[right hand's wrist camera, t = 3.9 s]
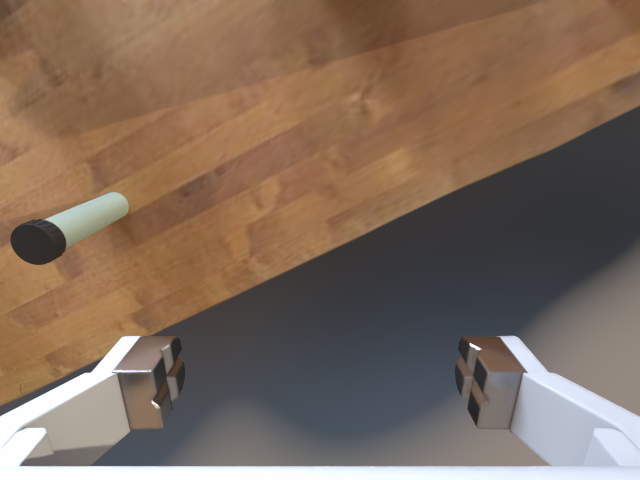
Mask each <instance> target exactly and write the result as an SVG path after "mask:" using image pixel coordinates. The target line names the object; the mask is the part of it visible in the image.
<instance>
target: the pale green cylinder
mask: <svg viewBox="0 0 640 480" xmlns="http://www.w3.org/2000/svg"><path fill="white" fill-rule="evenodd" d="M128 211H129V204H128V201H127V200H126V198H125V197H124V196H123V195H121V194H119V193H116V192H110V193H108V194H105V195H103V196H100V197H98V198H95V199H93V200H90V201H88V202H86V203H83V204H81V205H78V206H76V207H73V208H71V209H68V210H66V211H64V212H61V213H59V214H56V215H54V216H51V217H49V218H46V219H44V220H46V221H49V222H52V223H54V224H55V225H56V226H58V227H59V228H60V230H61V231H62V232H63V234H64V236H65V238H66V249H67V248H68V247H70V246H72V245H74V244H76V243H77V242H79V241H81V240H83V239H84V238H86V237H88V236H90V235H92V234H93V233H95V232H97V231H99V230H101V229H102V228H104V227H106V226H108V225H109V224H111V223H113V222H115V221H117V220H118V219H120V218H122V217H124V216H125V215H126V214H127V213H128Z"/></svg>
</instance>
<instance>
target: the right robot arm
mask: <svg viewBox="0 0 640 480" xmlns="http://www.w3.org/2000/svg"><path fill="white" fill-rule="evenodd" d="M181 350H182V348H181V343H180V339H179V338H177V337H160V336H143V337H142V336H125V337H122V338H121V339H120V340H119V341H118V342H117V344H116V345H115V346H114V347H113V348H112V349H111V350H110V352H109V353H108V354H107V355H106V356H105V357H104V359H103V360H102V361H101V362H100V363H99V364H98V365H97V367H96V368H95V369H94V370H93V371H92V372H91V373H84V374H82V375H80V376H78V377H77V378H75V379H73V380H71V381H69V382H67V383H65V384H63V385H61V386H59V387H57V388H55V389H53V390H51V391H49V392H47V393H45V394H43V395H41V396H39V397H37V398H35V399H34V400H32V401H30V402H28V403H26V404H24V405H22V406H20V407H18V408H16V409H14V410H12V411H10V412H8V413H6V414H4V415H2V416H0V480H640V417H639V416H638V415H636V414H634V413H632V412H630V411H628V410H626V409H624V408H622V407H620V406H618V405H616V404H614V403H612V402H610V401H608V400H606V399H604V398H602V397H600V396H599V395H597V394H595V393H593V392H591V391H589V390H587V389H585V388H583V387H581V386H579V385H577V384H575V383H573V382H571V381H569V380H567V379H565V378H563V377H561V376H560V375H558V374H556V373H549V372H548V371H547V370H546V369H545V368H544V367H543V366H542V364H541V363H540V362H539V361H538V360H537V359H536V357H535V356H534V355H533V354H532V353H531V352H530V351H529V349H528V348H527V347H526V346H525V345H524V344H523V342H522V341H521V340H520V339H519V338H518V337H516V336H497V337H462V338H461V340H460V342H459V348H458V350H459V352H460V353H461V355H462V357H461V358H460V359H459V360H458V361H457V362H456V369H455V376H456V384H457V387H458V390H459V392H460V394H461V396H462V397H463V398H464V399H466V400H467V401H469V403H468V411H469V413H470V415H471V417H472V419H473V421H474V423H475V425H476V427H477V428H478V429H509V430H510V432H511V433H513V434H514V435H515V436H516V437H517V438H518V439H520V440H521V441H522V442H523V443H524V444H525V445H527V446H528V447H529V448H530V449H531V450H532V451H534V452H535V453H536V454H537V455H538V456H540V457H541V458H542V459H543V460H544V461H545V462H547V463H548V464H549V465H550V466H90V465H91V464H92V463H94V462H95V461H96V460H97V459H98V458H99V457H101V456H102V455H103V454H104V453H105V452H106V451H108V450H109V449H110V448H111V447H112V446H114V445H115V444H116V443H117V442H118V441H119V440H121V439H122V438H123V437H124V436H125V435H126V434H128V433H129V432H130V430H131V429H163V427H164V425H165V423H166V421H167V419H168V417H169V415H170V413H171V411H172V403H171V401H173V400H174V399H176V398H177V397H178V396H179V394H180V392H181V390H182V388H183V383H184V378H185V368H184V362H183V361H182V360H181V359H180V358H179V357H178V355H179V353H180V352H181Z"/></svg>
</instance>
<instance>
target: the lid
mask: <svg viewBox="0 0 640 480" xmlns="http://www.w3.org/2000/svg"><path fill="white" fill-rule="evenodd" d="M11 245H12V248H13V250H14V251H15V253H16V254H17V255H18V256H19V257H20V258H21V259H23V260H24V261H26V262H28V263H31V264H35V265H42V264H46V263H48V262H51V261H53V260H55V259H56V258H58V257H60V256H61V255H62V254H63V252H64V251H65V249H66V238H65V236H64V234H63V232H62V231H61V230H60V228H59V227H58V226H56V225H55V224H54V223H52V222H49V221H46V220H41V219H38V220H35V219H34V220H32V221H29V222H27V223H24V224H22V225H19V226H18V227H17V228H15V229H14V231H13V232H12V234H11Z"/></svg>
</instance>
